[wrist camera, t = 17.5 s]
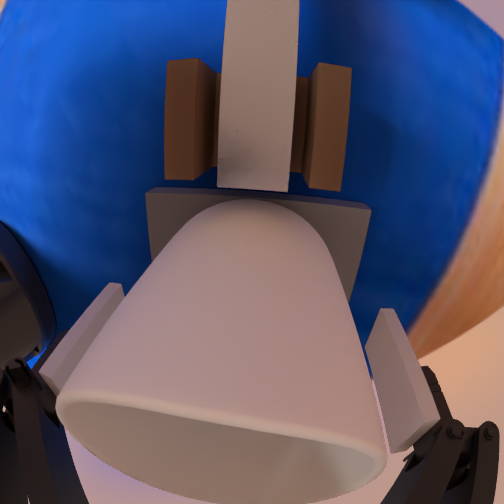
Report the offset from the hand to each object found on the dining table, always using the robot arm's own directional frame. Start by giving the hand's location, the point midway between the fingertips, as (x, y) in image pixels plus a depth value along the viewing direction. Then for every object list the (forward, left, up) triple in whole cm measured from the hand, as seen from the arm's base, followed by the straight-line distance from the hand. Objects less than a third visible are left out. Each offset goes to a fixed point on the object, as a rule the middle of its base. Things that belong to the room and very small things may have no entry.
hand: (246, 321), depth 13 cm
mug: (+1, 0, -2) cm, 2 cm away
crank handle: (0, +15, -1) cm, 15 cm away
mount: (0, +9, -3) cm, 10 cm away
